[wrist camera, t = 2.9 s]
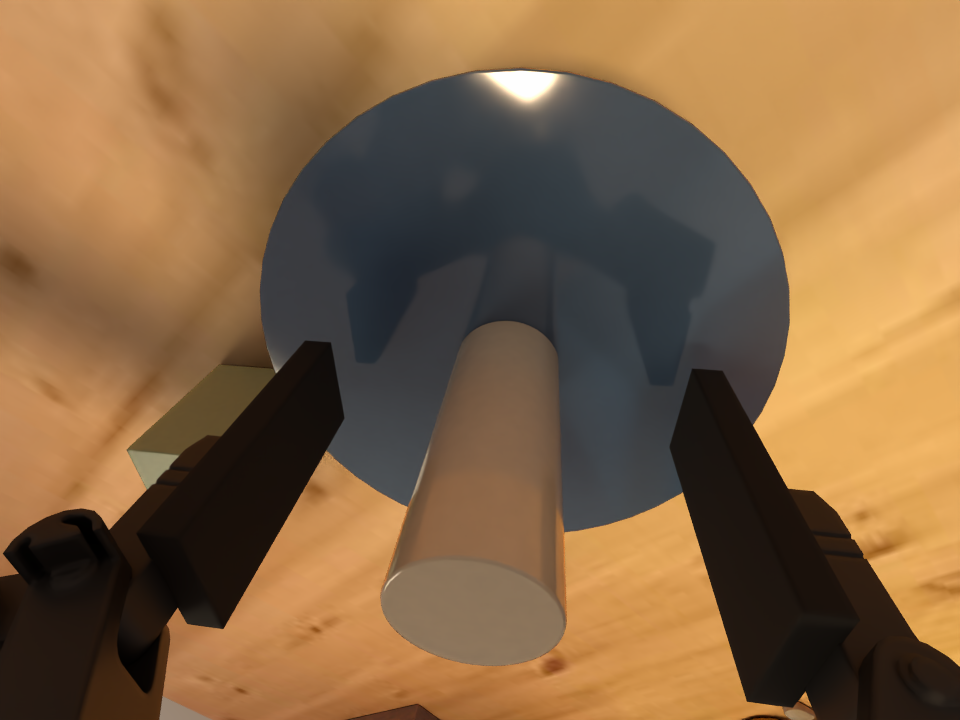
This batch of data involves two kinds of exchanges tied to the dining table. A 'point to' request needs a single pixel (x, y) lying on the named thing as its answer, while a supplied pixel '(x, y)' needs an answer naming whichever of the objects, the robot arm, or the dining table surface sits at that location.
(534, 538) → the bowl lid
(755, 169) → the dining table surface
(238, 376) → the block
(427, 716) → the tissue box cover
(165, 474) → the robot arm
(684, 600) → the dining table surface
